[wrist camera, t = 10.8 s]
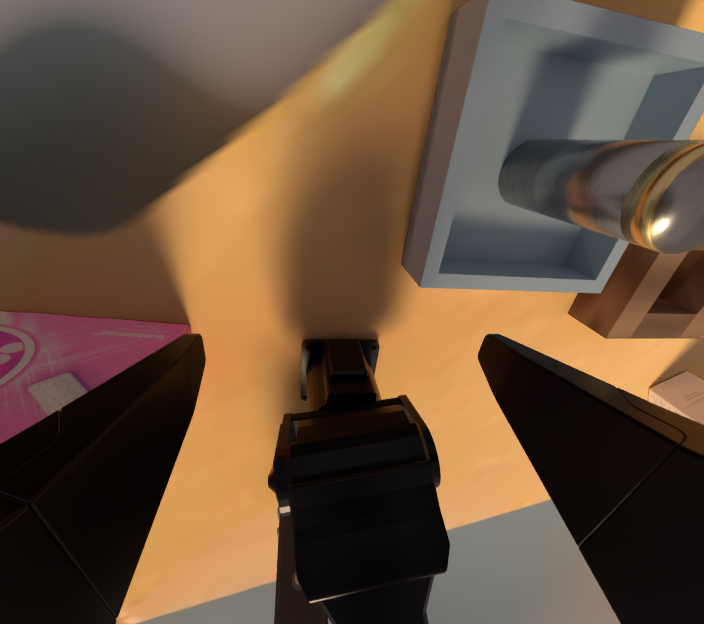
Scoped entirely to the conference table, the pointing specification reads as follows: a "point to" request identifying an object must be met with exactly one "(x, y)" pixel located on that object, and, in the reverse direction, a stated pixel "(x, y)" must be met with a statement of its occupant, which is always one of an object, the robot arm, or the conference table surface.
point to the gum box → (66, 360)
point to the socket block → (648, 297)
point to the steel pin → (613, 188)
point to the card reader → (292, 584)
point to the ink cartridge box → (681, 396)
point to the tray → (538, 134)
